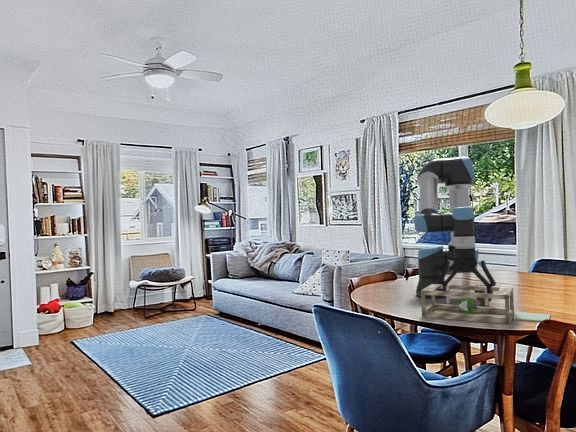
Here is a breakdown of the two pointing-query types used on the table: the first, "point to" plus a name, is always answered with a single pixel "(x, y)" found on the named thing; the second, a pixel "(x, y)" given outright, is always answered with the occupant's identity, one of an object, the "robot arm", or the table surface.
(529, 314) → the felt pad
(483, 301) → the cup
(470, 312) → the geometric puzzle
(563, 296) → the table surface
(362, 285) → the table surface
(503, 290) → the crate
